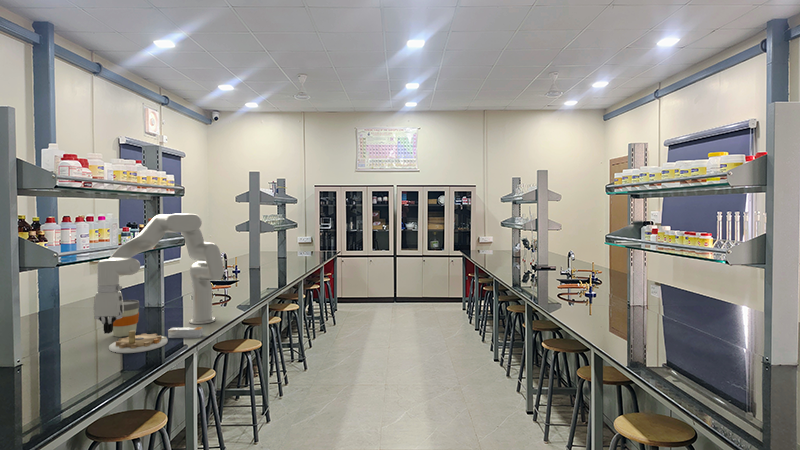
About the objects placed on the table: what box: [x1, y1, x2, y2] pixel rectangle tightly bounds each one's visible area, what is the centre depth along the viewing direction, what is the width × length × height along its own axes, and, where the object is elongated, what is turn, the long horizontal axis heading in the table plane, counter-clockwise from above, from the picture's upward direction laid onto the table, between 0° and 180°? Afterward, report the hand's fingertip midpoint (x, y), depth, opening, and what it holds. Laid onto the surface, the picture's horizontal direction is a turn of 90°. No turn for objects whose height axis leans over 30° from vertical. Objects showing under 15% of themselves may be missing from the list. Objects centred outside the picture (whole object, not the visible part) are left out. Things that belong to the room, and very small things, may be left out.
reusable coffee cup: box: [112, 299, 140, 338], centre depth 212 cm, size 13×13×15 cm
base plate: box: [108, 335, 169, 354], centre depth 196 cm, size 22×22×2 cm
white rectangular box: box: [167, 326, 204, 339], centre depth 209 cm, size 4×14×4 cm, turn 94°
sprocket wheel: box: [115, 331, 163, 348], centre depth 195 cm, size 17×17×6 cm
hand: (108, 332), depth 188 cm, fingers closed
